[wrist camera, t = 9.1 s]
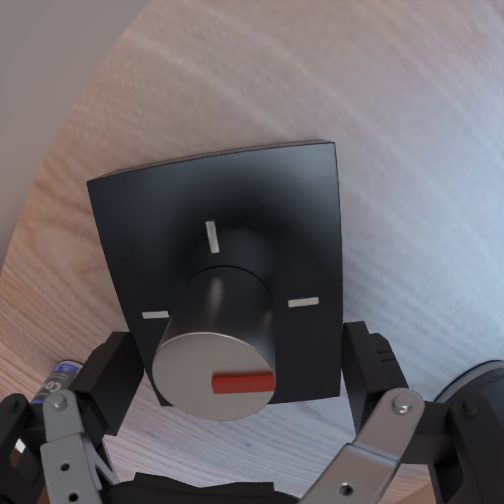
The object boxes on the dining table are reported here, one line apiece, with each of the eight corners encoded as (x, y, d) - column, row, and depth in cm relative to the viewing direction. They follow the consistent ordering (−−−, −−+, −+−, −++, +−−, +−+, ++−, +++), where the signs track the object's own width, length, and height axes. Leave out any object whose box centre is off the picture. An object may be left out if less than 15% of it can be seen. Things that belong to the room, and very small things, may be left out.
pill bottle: (71, 350, 21) (18, 428, 13) (116, 390, 22) (78, 474, 14) (48, 371, 22) (2, 440, 14) (88, 407, 23) (52, 479, 15)
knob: (191, 347, 16) (168, 425, 11) (171, 270, 15) (131, 340, 10) (277, 342, 16) (280, 424, 11) (268, 261, 14) (270, 333, 9)
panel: (332, 364, 20) (340, 398, 17) (171, 375, 21) (160, 408, 18) (322, 139, 15) (336, 142, 12) (112, 171, 16) (84, 182, 13)
